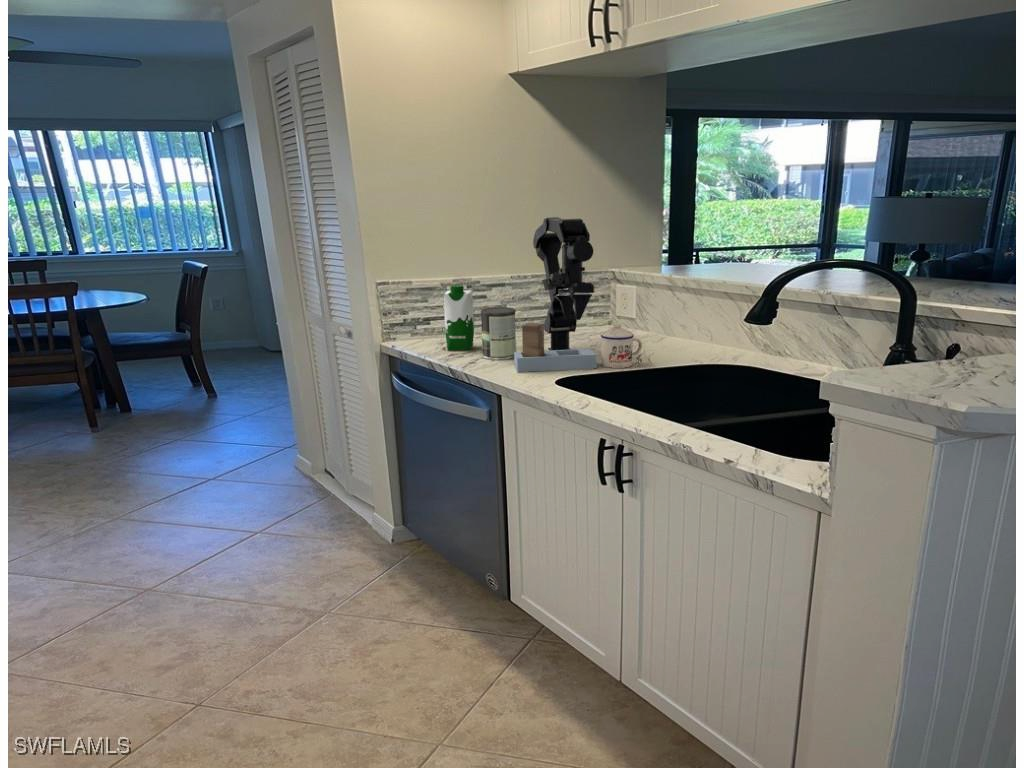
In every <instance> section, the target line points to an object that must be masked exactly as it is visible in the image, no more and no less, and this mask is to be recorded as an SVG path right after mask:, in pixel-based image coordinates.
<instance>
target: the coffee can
mask: <svg viewBox="0 0 1024 768" xmlns="http://www.w3.org/2000/svg"><path fill="white" fill-rule="evenodd" d="M480 314H481V315H480V316H481V318H480V319H481V342H482V343H481V345H482V346H481V347H482V348H481V349H482V358H483V359H485V358H486V360H489V359H492V361H500V360H499V359H505V360H510V358H511V359H514V358H513V357H514V352H517V347H516V345H517V344H516V343H517V342H516V341H517V340H516V339H517V338H516V309H515V308H512V307H506V306H505V307H503V306H501V307H499V306H497V307H496V306H495V307H486V308H482V309H481V310H480Z"/></svg>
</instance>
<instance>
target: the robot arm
mask: <svg viewBox="0 0 1024 768" xmlns="http://www.w3.org/2000/svg"><path fill="white" fill-rule="evenodd" d="M590 238H591V235H590V232H589V230H588V228H587V226H586V224H585V222H584V220H583V219H582V218H566V219H565V218H561V217H558V216H557V217H556V216H555V217H554V216H553V217H552V216H551V217H546V218H544V219H543V222H542V224H541V225H539V227H537V229H535V232H534V235H533V241H532V243H533V248H534V249H535V253H536V256H537V257H538V258H539V259H540V260H541V261H542V262H543V266H544V271H545V276H546V277H545V278H544V279H543V278H542V279H541V281H542V285H543V288H544V290H545V291H548V293H549V299H550V300H549V301H550V306H549V308H548V310H547V314H546V317H545V321H544V332H546V333H547V334H550V347H548V348H547V351H551V350H572V349H571V348H570V333H571V332H572V333H573V332H574V333H575V332H576V329H577V322H578V321H580V320H582V317H583V314H584V312H585V310H586V309H587V308H586V307H587V305H588V303H589V301H590V300H591V297H592V296H593V294H595V285H594V284H593V283H592V282H585V281H583V272H585V271H586V267H584V266H583V263H585V262H588V261H589V260H590V259H591V258H593V255H594V248H593V247H594V246H593V245H592V244H591V243H590ZM560 252H561V266H560V262H559V254H560Z"/></svg>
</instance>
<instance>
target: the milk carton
mask: <svg viewBox="0 0 1024 768" xmlns="http://www.w3.org/2000/svg"><path fill="white" fill-rule="evenodd" d="M449 288H450V290H448V291H445V293H444V294H443V298H444V299H443V302H444V304H443V305H444V306H443V308H444V333H445V340H446V349H447V351H448V350H459V351H460V350H470V351H471V350H472V348H473V347H474V339H475V338H474V336H475V335H474V334H475V322H474V321H475V320H474V319H475V318H474V298H473V290H464V285H461V284H460V285H450V287H449ZM472 346H473V347H472ZM459 351H458V352H459Z"/></svg>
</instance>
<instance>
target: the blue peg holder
mask: <svg viewBox="0 0 1024 768" xmlns="http://www.w3.org/2000/svg"><path fill="white" fill-rule="evenodd" d="M597 360H598V359H597V354H596V352H595V351H594V350H592V349H591V348H578V349H577V348H576V349H571V350H551V351H549V350H544V356H543V357H523V351H516V352H514V358H513V364H514V369H515V370H516V372H517V373H524V372H523V371H539V372H546V371H545V370H560V371H577V369H578V370H579V369H581V370H593V369H592V368H597V365H598V364H597V363H598V361H597Z"/></svg>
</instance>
